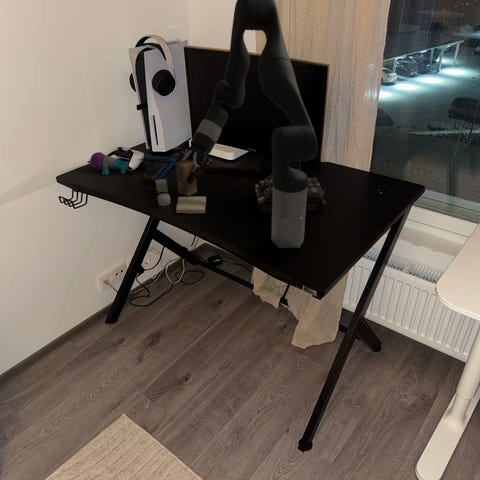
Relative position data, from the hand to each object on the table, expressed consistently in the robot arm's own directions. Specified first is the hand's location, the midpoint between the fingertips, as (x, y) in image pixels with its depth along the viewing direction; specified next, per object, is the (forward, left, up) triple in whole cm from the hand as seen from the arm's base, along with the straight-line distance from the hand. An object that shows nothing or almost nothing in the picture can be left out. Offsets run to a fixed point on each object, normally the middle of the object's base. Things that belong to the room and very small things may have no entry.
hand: (182, 180), depth 152 cm
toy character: (+20, +8, -6) cm, 22 cm away
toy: (+22, +30, -6) cm, 38 cm away
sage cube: (+3, +8, -5) cm, 10 cm away
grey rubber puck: (-7, +6, -5) cm, 10 cm away
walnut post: (+1, -1, -5) cm, 6 cm away
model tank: (-8, -35, -6) cm, 37 cm away
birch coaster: (-9, -3, -5) cm, 11 cm away
